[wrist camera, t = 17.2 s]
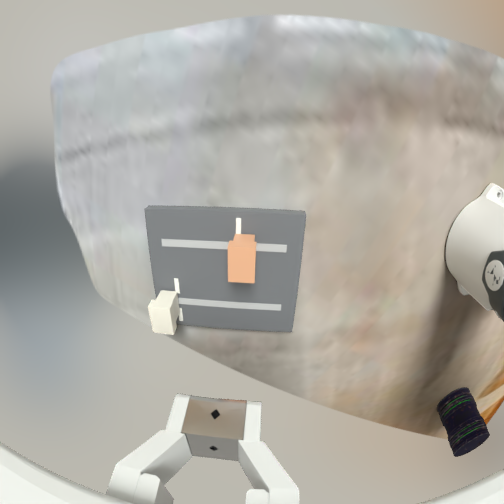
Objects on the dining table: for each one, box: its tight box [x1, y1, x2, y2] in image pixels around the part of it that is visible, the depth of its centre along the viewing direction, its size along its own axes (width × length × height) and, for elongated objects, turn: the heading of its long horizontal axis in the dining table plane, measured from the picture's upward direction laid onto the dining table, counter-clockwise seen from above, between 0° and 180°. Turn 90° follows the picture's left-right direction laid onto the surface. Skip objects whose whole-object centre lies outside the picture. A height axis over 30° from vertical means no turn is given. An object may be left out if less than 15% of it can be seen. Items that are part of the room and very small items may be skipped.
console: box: [145, 206, 306, 332], centre depth 40 cm, size 20×18×2 cm
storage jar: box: [437, 387, 490, 457], centre depth 47 cm, size 10×10×15 cm
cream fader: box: [148, 290, 180, 335], centre depth 39 cm, size 3×4×5 cm
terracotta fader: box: [228, 234, 256, 283], centre depth 35 cm, size 3×4×5 cm
